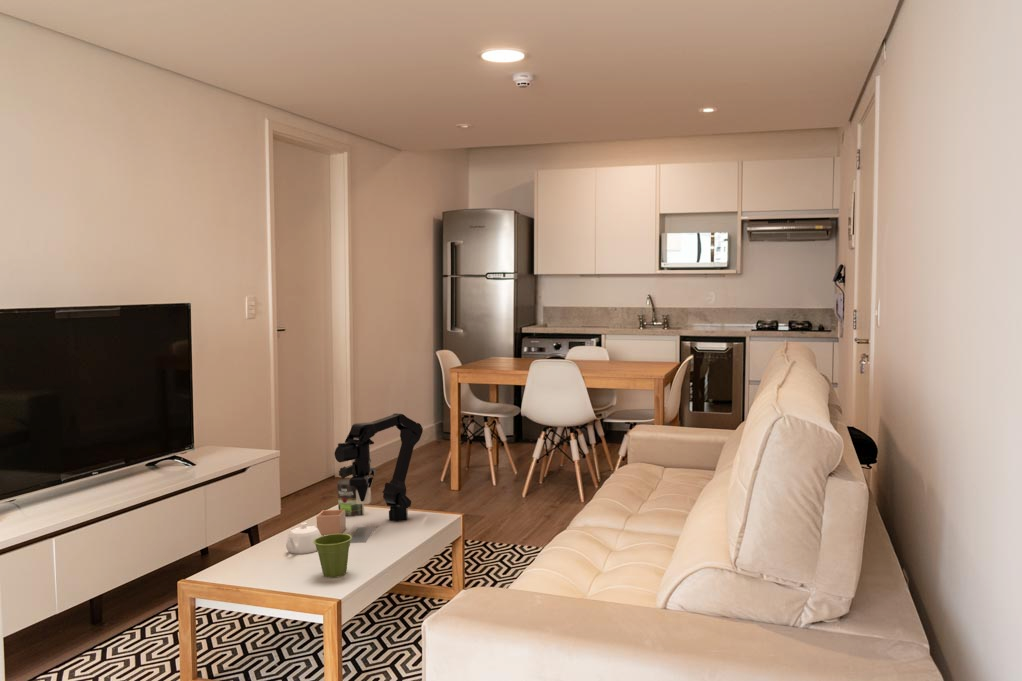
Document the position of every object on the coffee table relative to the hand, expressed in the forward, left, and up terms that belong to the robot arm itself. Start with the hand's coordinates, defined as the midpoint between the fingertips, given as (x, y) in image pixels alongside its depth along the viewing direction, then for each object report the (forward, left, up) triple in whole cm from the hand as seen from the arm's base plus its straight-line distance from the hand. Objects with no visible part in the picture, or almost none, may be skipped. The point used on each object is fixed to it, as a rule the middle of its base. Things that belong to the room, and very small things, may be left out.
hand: (363, 499), depth 296 cm
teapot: (+16, +22, -13) cm, 30 cm away
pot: (+12, +1, -12) cm, 17 cm away
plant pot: (0, +45, -13) cm, 47 cm away
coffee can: (+10, -24, -13) cm, 29 cm away
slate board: (0, +6, -12) cm, 14 cm away
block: (0, 0, -1) cm, 1 cm away
